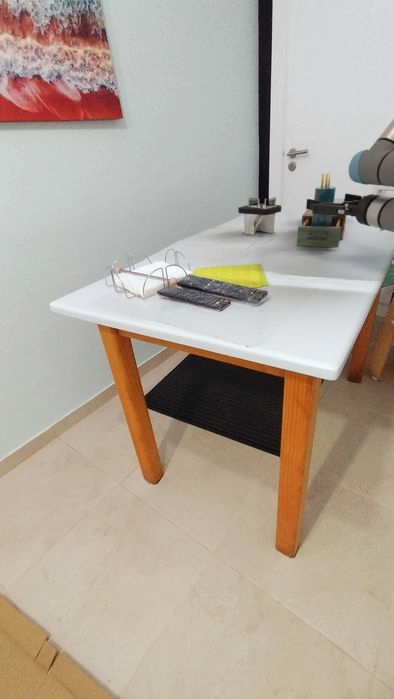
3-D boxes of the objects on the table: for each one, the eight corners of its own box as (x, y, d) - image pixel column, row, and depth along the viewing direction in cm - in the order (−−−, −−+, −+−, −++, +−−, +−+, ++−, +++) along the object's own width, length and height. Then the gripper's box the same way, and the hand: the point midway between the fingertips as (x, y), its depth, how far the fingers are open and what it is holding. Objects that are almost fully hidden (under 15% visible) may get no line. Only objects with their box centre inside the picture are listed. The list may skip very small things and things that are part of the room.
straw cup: (330, 235, 113) (338, 170, 102) (328, 239, 108) (337, 173, 98) (311, 234, 115) (318, 171, 105) (309, 239, 110) (315, 173, 100)
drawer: (337, 251, 101) (340, 231, 98) (294, 249, 106) (295, 230, 103) (341, 235, 115) (343, 217, 112) (303, 234, 120) (304, 217, 117)
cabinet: (342, 240, 114) (345, 215, 110) (300, 238, 119) (302, 215, 115) (344, 228, 126) (348, 206, 122) (306, 228, 131) (308, 206, 127)
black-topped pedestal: (210, 236, 133) (208, 200, 126) (256, 223, 146) (256, 190, 139) (263, 249, 114) (264, 206, 106) (311, 232, 126) (315, 194, 119)
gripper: (333, 233, 86) (290, 219, 104) (412, 220, 92) (358, 208, 109) (338, 201, 82) (292, 192, 100) (420, 190, 88) (362, 183, 105)
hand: (326, 200), depth 104 cm, fingers open, 13 cm apart
